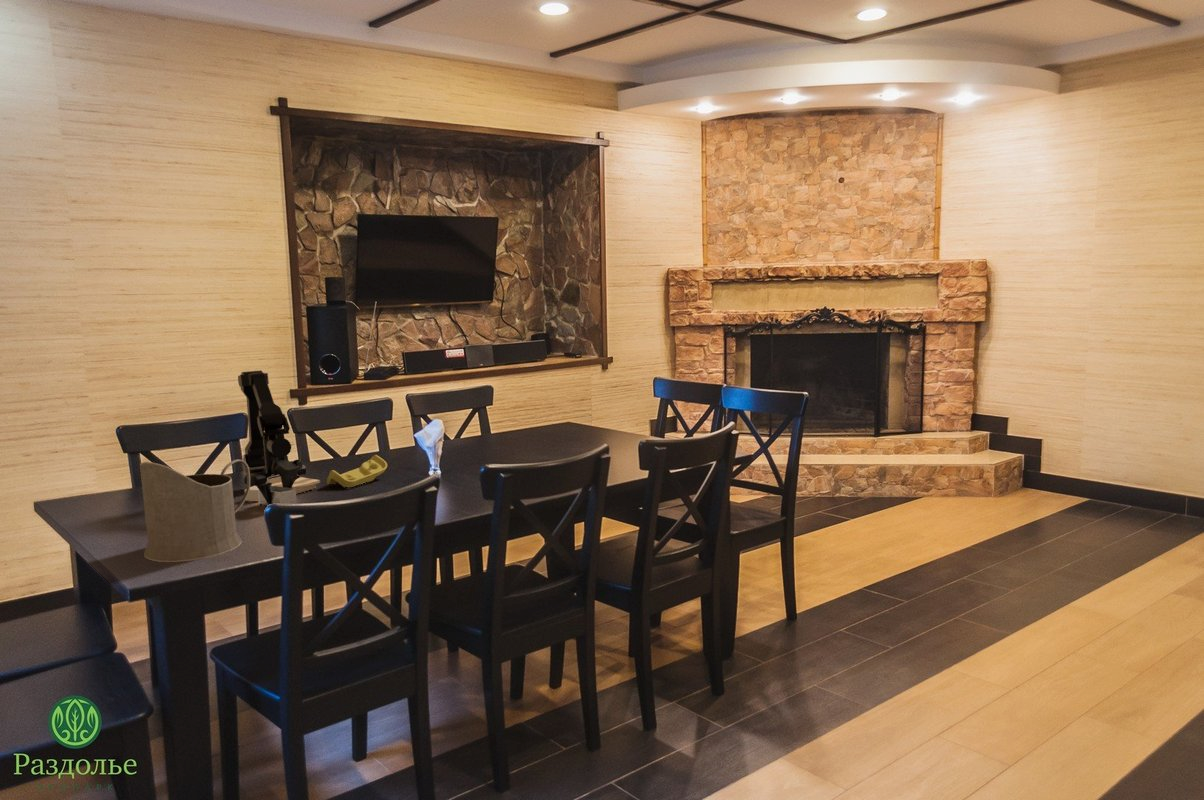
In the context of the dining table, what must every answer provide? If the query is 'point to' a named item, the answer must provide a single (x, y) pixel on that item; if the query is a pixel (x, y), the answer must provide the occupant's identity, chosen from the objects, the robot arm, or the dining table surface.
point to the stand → (301, 484)
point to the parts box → (253, 493)
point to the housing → (280, 495)
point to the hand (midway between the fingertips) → (278, 501)
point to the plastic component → (359, 473)
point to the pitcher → (188, 513)
